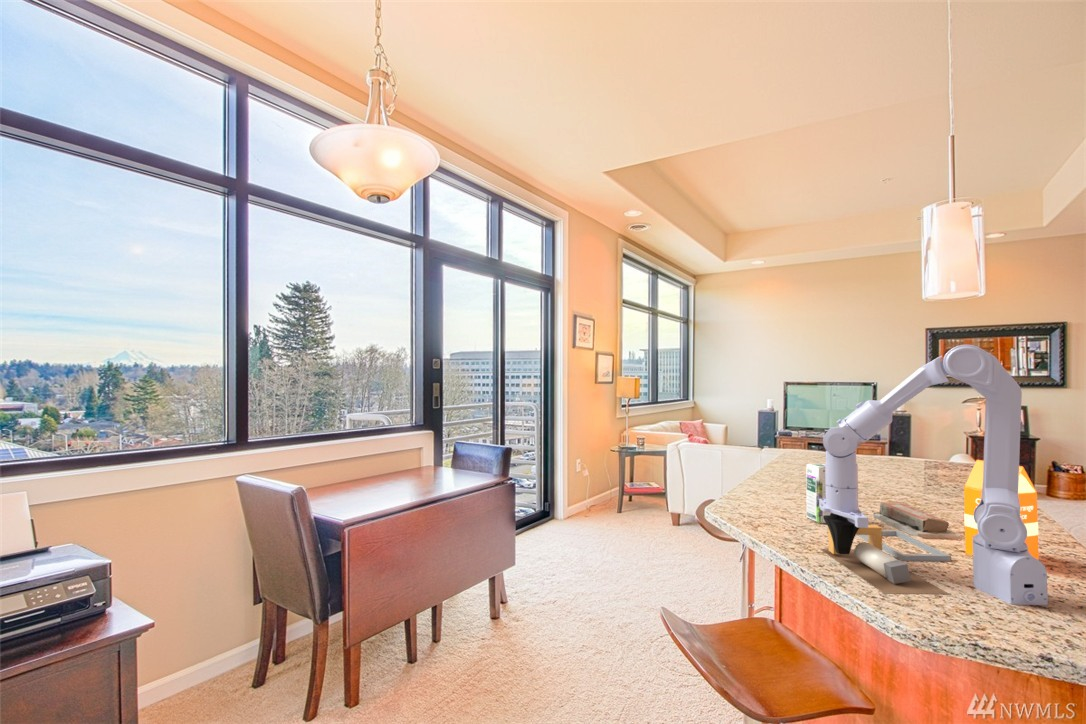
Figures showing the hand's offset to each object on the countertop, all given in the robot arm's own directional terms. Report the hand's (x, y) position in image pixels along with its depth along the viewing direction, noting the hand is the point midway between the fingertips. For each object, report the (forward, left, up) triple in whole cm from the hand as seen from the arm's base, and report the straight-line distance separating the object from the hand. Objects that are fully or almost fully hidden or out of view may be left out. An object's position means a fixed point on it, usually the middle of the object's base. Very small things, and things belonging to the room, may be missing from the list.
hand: (842, 553), depth 103 cm
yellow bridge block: (+3, -4, -1) cm, 5 cm away
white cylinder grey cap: (-6, -4, -1) cm, 7 cm away
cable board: (-5, -4, -2) cm, 7 cm away
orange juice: (+4, -35, -3) cm, 35 cm away
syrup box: (+31, -12, -3) cm, 34 cm away
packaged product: (+26, -31, -3) cm, 41 cm away
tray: (+8, -17, -2) cm, 19 cm away
